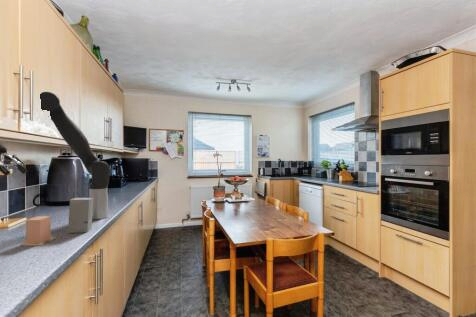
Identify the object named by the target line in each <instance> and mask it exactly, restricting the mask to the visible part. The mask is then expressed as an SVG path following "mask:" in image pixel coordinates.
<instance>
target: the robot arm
mask: <svg viewBox="0 0 476 317" xmlns="http://www.w3.org/2000/svg"><path fill="white" fill-rule="evenodd" d="M40 93H41V92H40ZM40 99H41V109H42V111H43V110H47V111H50V116H51V119H50V120H51V121H52V123H53V124H54V126H55V128H56V130H57V132H58V133H59V134H60V136H61V137H62V139H63V140H64V141H65V143H66V145H67V146H68V147H69V148H70V149H71V150H72V151H73V152H74V154H75V155H76V156H77V157H78V158H79V160H80V161H81V162H82V164H83V166H84V168H85V170H86V172H88V174H89V175H90V176H91V182H90V183H89V186H88V187H89V189H88V191H89V193H88V196H89V197H88V198H93V210H92V220H101V219H105V218H108V214H109V212H108V208H109V207H108V206H109V204H108V202H109V201H108V200H109V196H108V186H109V183H110V166H109V164H108V163H107V162H106V161H103V160H99V159H98V157H97V156H96V155H95V154H94V152H93V151H92V148H91V145H90V143H89V140H88V139H87V137H86V135H85V134H84V133H83V131H82V130H81V129H80V128H79V126H78V125H77V124H76V123H75V122H74V121H73V120H72V119H71V118H70V117H69V116H68V115H67V113H66V111H65V110H64V108H63V106H62V105H61V101H60V98H59V97H58V95H56V94H55V93H53V92H50V91H42V93H41V94H40ZM7 152H8V149H7V148H6V147H5V145H4V144H2V143H1V142H0V172H1V173H2V174H3V175H4V176H9V175H10V174H11V170H9V168H8V167H6V166H5V165H7V166H9V167H14V168H16V169H17V170H18V171H19V172H20V173H21V174H24V175H25V174H26V173H28V169H27V168H26V167H25V166H24V165H25V164H26V163H25V161H23V160H22V159H21V157H19V156H18V155H17V154H15V153H14V154H12V155H10V154H8V153H7Z"/></svg>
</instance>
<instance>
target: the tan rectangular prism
mask: <svg viewBox="0 0 476 317" xmlns="http://www.w3.org/2000/svg"><path fill="white" fill-rule="evenodd" d="M51 218H52V217H51V215H50V216H47V215H46V216H45V215H43V216H42V215H41V216H35V217H34V216H33V217H30V218H28V219H26V220H25V242H26V243H42V242H44V241H46V240H48V239H50V238H51V237H52V236H51V234H52V233H51V232H52V230H51V227H52V226H51V223H52V222H51Z"/></svg>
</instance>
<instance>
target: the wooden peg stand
mask: <svg viewBox="0 0 476 317" xmlns="http://www.w3.org/2000/svg"><path fill="white" fill-rule="evenodd" d="M55 239H56V237H55V236H51V238H50V239H48V240H46V241H44V242H42V243H26V241H25V242H22V243H21V244H20V247H21V246H24V247H25V246H43V245H45V244H48V243H49V242H51V241H54V240H55Z"/></svg>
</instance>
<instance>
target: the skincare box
mask: <svg viewBox="0 0 476 317" xmlns="http://www.w3.org/2000/svg"><path fill="white" fill-rule="evenodd" d="M68 210H69V211H68V224H67V233H68V234H80V233H88V232H89V231H90V230H92V227H93V226H92V225H93V219H92V210H93V198H89V197H74V198H71V199H70V200H69V209H68Z"/></svg>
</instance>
